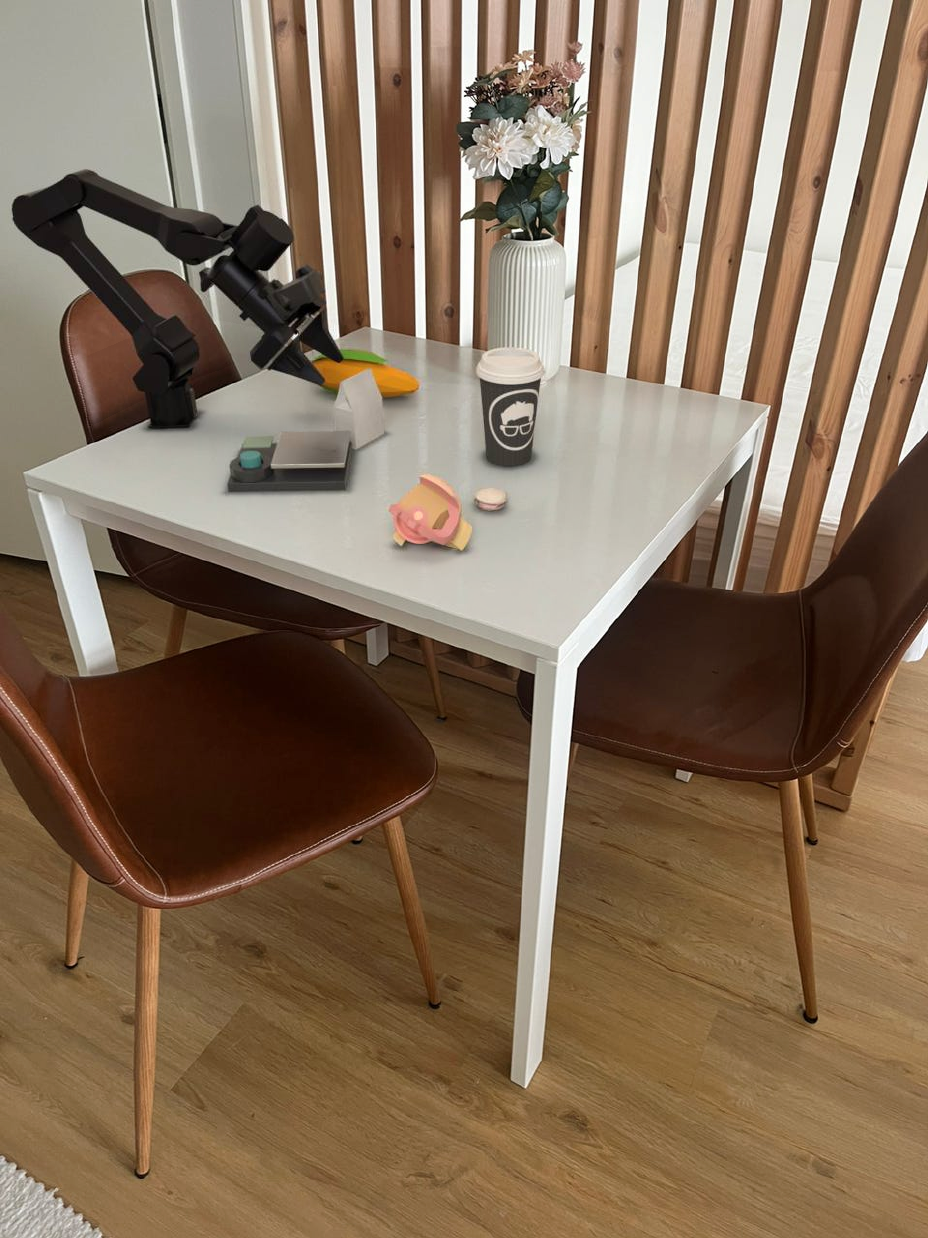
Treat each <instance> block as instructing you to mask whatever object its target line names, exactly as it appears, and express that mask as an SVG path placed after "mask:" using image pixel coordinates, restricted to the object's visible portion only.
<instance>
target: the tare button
mask: <svg viewBox="0 0 928 1238" xmlns="http://www.w3.org/2000/svg"><path fill="white" fill-rule="evenodd" d="M240 461H241V467H243V468H255V467H259V466H261V465H262V462H261V455H260V453H259V452H257V451H246V452H243V453H241V454H240Z"/></svg>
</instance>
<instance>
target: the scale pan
mask: <svg viewBox="0 0 928 1238" xmlns="http://www.w3.org/2000/svg"><path fill="white" fill-rule="evenodd" d="M349 439H350V431H336V430H319V431H317V430H315V431H313V430H311V431H309V430H308V431H307V430H306V431H280V434H279V437H278V439H277V442H276V443H277V446H276V450H275V453H274V456H273V459H272V462H271V469H279V468H344V467H345V461H346V456H347V450H348V444H349Z"/></svg>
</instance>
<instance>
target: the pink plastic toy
mask: <svg viewBox="0 0 928 1238" xmlns="http://www.w3.org/2000/svg"><path fill="white" fill-rule="evenodd" d="M462 510H463V507H462V503H461V500H460V498H459V496H458V494H457V493H456V491H455V490H454V489H453V487H452V485H450V484H449V483H448V482H446V481H445V480H444V479H442V478H441V477H438V476H436V475H434V474H429V473H426V474H425V473H424V474H421V475H419V483H418V484H417V485H415V486H414V487H413V488H412V489H411V490H410V491H408V492H407V493H406V494H405V495H404V496H403V497H402V498H401V499H400V500H399V501H398V502H396V503H394V504H390V506H389V507H388V513H390V514H391V515H392V516H393V517H392V518H393V519H392V520H393V525H394V528H395V530H394V532H393V534H392V538H393V540H394V541H395V542H396V543H397V544H398V546H401V547H402V546H403V545H404V543H405V542H406V541H407V542H410V543H413V544H417V545H421V544H427V543H430V542H433V543H436V544H439V545H441V546H446V547H449V548H453V549H457V550H459V551H461V552H463V551H464V549H465V547H466V546H467V544H468V542H469V540H470V538H471V536H472V532H473V528H474V527H473V526H472V525H470V524H469V522H467V521H466V519H464V518H463V516H462Z"/></svg>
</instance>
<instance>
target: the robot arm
mask: <svg viewBox="0 0 928 1238" xmlns="http://www.w3.org/2000/svg"><path fill="white" fill-rule="evenodd" d="M82 208H87V209H89V210H91V211H93V212H95V213H98V214H100V215H103V216H105V217H107V218H109V219H111V220H114V221H115V222H116V221H117V222H119V223H120V224H123V225H125V226H128V227H129V228H132V229H134V230H137V231H138V232H141V233H143V234H145V235H148V236H149V237H151V238H152V239H154V240H156V241H157V242H158V243H159V244H160V245H161V246H162V248H163V250H165V251H166V252H167V253H168V254H170V255H172V256H173V257H175V258H176V259H178V260H179V261H180V262H183V263H184V264H186V265H189V266H198V265H199V266H200V265H201V264H204V263H205V262H207V261H209V260H210V259H213V258H215V257H217V256H218V257H217V259H216V260H215V261H214V263H213V264H212V265H211V267H208V266H206V267H203V268H202V269H201V270H200V271H199V272H198V276H199V277H200V278H199V279H200V283H199V285H200V291H201V292H202V293H206V292H207V291H208V290H210V289H211V288H212V287H214V286H215V287H216V288H217V289H218V290H219V291H221V293H223V295H224V296H225V297H227V298H228V299H229V301H231V302H232V303H233V304H234V305H235V306H236V307H237V308H238V309H239V310H240V311H241V313H240V314H239V315H238V317H239V318H240V319H241V320H242V321H243V322H245V321H247V320H248V319H249V320H250V321H251V322H253V324H255V326H257V328H259V329H260V330H261V331H262V332H263V334H262V336H261V337H260V339H259V341H258V342H257V343H256V344H255V345H254V346H253V347H252V348H251V350H250V351H249V355H250V361H251V362H252V363H253V364H254V365H255V366H256V367H257V368H258V369H259V370H260V371H262V370H263V369H264V368H265V367H266V366H267V365H268V364H269V363H270V361H271V364H269V365H268V366H267V368H266V370H267V371H269V372H270V371H275V372H278V373H282V374H285V375H289V376H291V377H294V378H297V379H300V380H303V381H306V382H308V383H311V384H314V385H317V386H319V385H320V386H321V385H322V384H323V383H324V382H325V379H324V377H323V376H322V375H321V373H320V372H319V371H318V370H317V368H316V367H315V366H314V365H313V364H312V361H311V360H310V359H309V358H308V357H307V356H306V354H305V353H304V352H303V350H302V347H301V343H302V344H303V345H305V346H306V347H309V348H311V349H312V350H314V351H316V352H317V353H318V354H320V355H321V354H323V355H324V356H326V357H328V358H330V359H331V360H333V361H335V362H337V363H340V362H341V361H342V360H343V359H344V357H343V355H342V354H341V352H340V350H339V349H340V348H339V346H338V344H336V341H335V339H334V338H333V336H332V334H331V332H330V330H329V328H328V327H327V323H326V319H327V318H326V313H327V312H328V310H327V307H324V306H325V304H327V301H326V300H325V299H324V298H323V297H322V296H321V295H322V294H324V293H326V289H325V287H324V286H323V284H322V282H321V281H322V279H323V275H322V273H319V272H318V271H317V269H316V268H315V269H314V268H313V267H311V266H310V265H309V264H305V265H303V266H300V267H299V268H297V269H296V270H295V273H294V274H295V278H294V279H292V280H290V281H289V282H287V283H285V284H283V283H282V282H281V281H280V280H279V279H275V278H273V279H272V280H268V278H267V277H266V276H265V275H264V274H262V272H269V271H270V270H271V269H272V268H273V266H274V265H275V264H276V263H277V262H278V260H279V259H280V258H281V257H282V256H283V255H284V253H285V252H286V251H287V249H288V248H289V247H290V246H291V245H292V243H293V242H294V240H295V236H294V233H293V230H292V229H291V227H290V225H289V224H288V223H287V222H286V221H285V220H284V219H283V218H280V217H279V216H278V215H276V214H275V213H273V212H271V211H268V210H265V209H263V208H262V207H261V206H260V205H259V204H255V205H253V206H251V207H250V208H248V210H247V211H246V213H245V215H244V217H243V219H242V220H241V222H239V224H238V225H236V224H232V223H228V222H223V221H222V219H220V218H219V217H218V216H216V215H215V214H212V213H211V212H206V211H201V210H197V209H193V208H185V207H183V208H182V207H173V206H169V205H166V204H163V203H161V202H159V201H157V200H154V199H152V198H150V197H148V196H145V195H144V194H142V193H140V192H136V191H134V190H132V189H130V188H128V187H125V186H123V185H121V184H119V183H116V182H114V181H112V180H110V179H108V178H105V177H103V176H101V175H99V174H98V173H97V172H95V171H94V170H91V169H87V168H84V169H80V170H77V171H74V172H70V173H68V174H66V175H64V176H63V178H62V179H60V180H58V181H57V182H55V183H54V184H52V185H50V186H46V187H42V188H39V189H36V190H33V191H30V192H27V193H24V194H20V195H18V196H16V197H15V198H14V199H13V202H12V203H11V215H12V218H11V220H12V222H13V224H14V226H15V227H16V228H17V230H18V231H19V232H20V233H22V235H24V236H25V237H26V238H28V239H29V240H30V241H31V242H32V243H33V244H34V245H36V247H38V248H40V249H43V250H44V251H47V252H49V253H51V254H53V255H55V256H57V257H58V258H59V259H61V260H63V261H64V263H65V264H66V265H67V266H68V267H69V268H70V269H71V271H72V272H73V273H74V274H75V275H76V276H77V277H78V278H79V279H80V280H81V282H83V284H84V285H85V286H86V287H87V288H88V289H89V290H90V292H92V293H93V295H94V296H95V297H96V298H97V299H98V300H99V301H100V302H101V303H102V304H103V306H104V307H105V309H107V310H108V311H109V313H111V314H112V316H113V317H114V318H115V319H116V320H117V321H118V323H120V324H121V325H122V327H123V328H124V329H125V330H126V331H127V332H128V334H129V335H130V336H131V338H132V342H133V345H134V349H135V353H136V355H137V358H138V359H139V360H140V361H141V363H142V364H143V365H141V367H140V368H139V370H137V371H136V373H135V374H134V375H133V377H132V380H133V384H134V385H135V387H136V389H137V390H138V391H139V392H143V393H144V396H145V400H146V401H145V402H146V406H147V411H148V415H149V416H148V417H149V421H148V423H147V428H148V429H187V428H190V427H191V425H192V423H193V422H194V420H195V419H196V417H197V415H198V407H197V401H196V393H195V389H193V388H191V387H190V385H191V384H190V380H189V378H190V377H191V376H193V375H194V372H195V367H196V366H197V365H198V363H199V362H200V357H201V355H200V354H201V353H200V350H201V349H200V346H199V343H198V342H197V340H196V339H195V338H194V337H195V336H196V334H195V333H194V332H192V331H191V330H189V328H187V326H186V325H185V324H184V322H183V320H182V319H181V318H180V317H178V316H177V315H176V314H173V315H172V316H170V317H169V318H166V317H164V316H161V315H159V314H158V313H157V312H156V311H154V310H153V309H152V306H150V305H149V304H148V303H147V302H146V301H145V300H144V299H143V297H142V296H141V295H140V294H139V292H138V291H136V290H135V288H134V287H133V286H132V285H131V284H130V282H129V281H128V280H127V279H126V278H125V277H124V276H123V275H122V273H121V272H119V271H118V269H117V268H116V266H114V265H113V263H111V261H110V260H109V259H108V258H107V257H106V256H105V255H104V253H103V252H102V251H101V250H100V248H98V247H97V246H96V244H94V242H93V241H92V240H91V239H90V238H89V237H88V235H87V233H86V232H87V231H86V229H85V226H84V223H83V219H82V216H81V213H79V210H82ZM230 248H231V249H232V251H231V252H230V254H229V255H228V254H223V255H220V254H222V253H223V252H225V251H227V250H229V249H230ZM219 255H220V256H219ZM260 271H261V272H260ZM323 307H324V308H323ZM321 309H322V310H321ZM320 310H321V311H320ZM319 311H320V312H319ZM294 335H295V337H294ZM293 337H294V338H293ZM292 338H293V339H292ZM320 386H319V387H320Z"/></svg>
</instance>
